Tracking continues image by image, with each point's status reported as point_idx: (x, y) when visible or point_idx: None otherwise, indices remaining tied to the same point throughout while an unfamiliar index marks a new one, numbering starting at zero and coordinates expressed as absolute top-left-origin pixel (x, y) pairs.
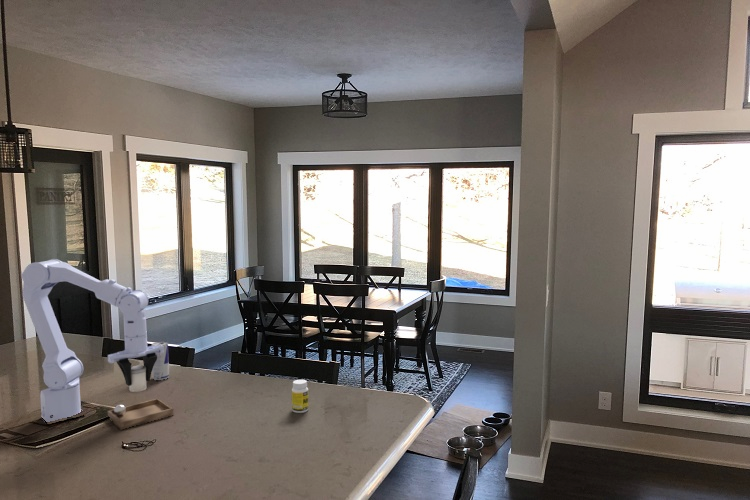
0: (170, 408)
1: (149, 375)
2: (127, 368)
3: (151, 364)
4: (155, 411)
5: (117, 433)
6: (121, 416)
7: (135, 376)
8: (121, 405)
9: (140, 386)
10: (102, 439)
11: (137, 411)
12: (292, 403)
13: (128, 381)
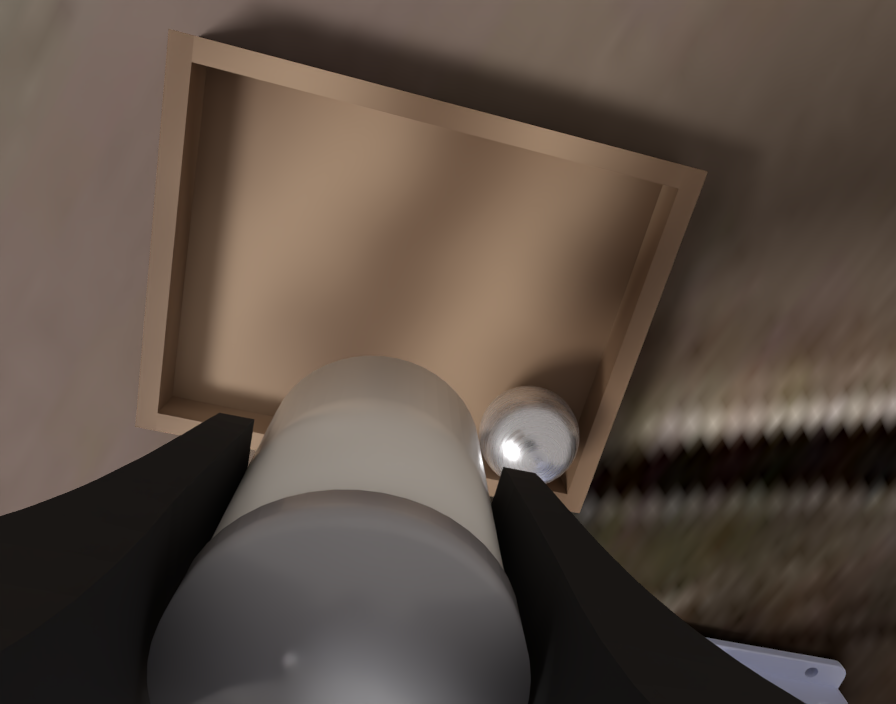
0: (190, 60)
1: (195, 442)
2: (702, 676)
3: (34, 547)
4: (289, 230)
5: (741, 129)
6: (531, 384)
7: (467, 504)
8: (531, 440)
9: (399, 383)
10: (880, 125)
11: None
12: None
13: (564, 506)
